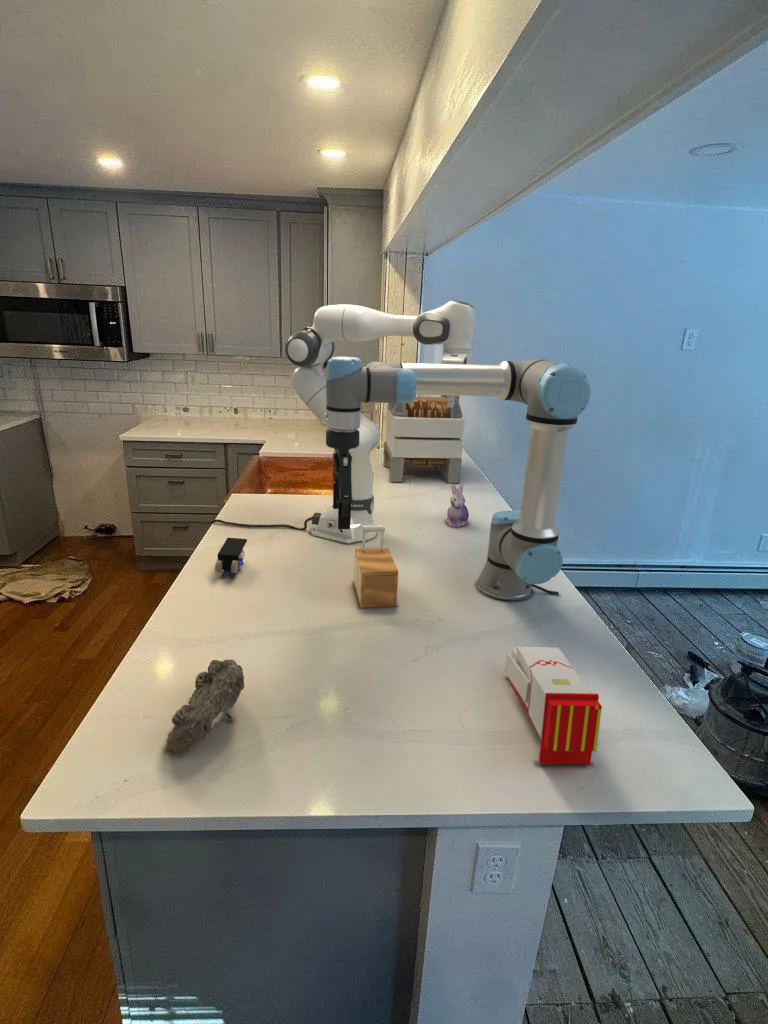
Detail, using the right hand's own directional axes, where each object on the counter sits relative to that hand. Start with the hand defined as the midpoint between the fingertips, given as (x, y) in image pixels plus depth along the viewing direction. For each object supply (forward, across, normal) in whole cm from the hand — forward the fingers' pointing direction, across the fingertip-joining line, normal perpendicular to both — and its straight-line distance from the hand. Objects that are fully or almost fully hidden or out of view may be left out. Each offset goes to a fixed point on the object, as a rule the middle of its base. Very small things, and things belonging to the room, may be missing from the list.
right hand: (341, 518), depth 133 cm
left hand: (-20, -44, +38) cm, 62 cm away
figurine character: (+28, -32, -29) cm, 51 cm away
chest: (+28, -14, +11) cm, 33 cm away
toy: (+28, +39, +37) cm, 60 cm away
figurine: (+28, -66, +50) cm, 87 cm away
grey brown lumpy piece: (+28, +33, -27) cm, 51 cm away
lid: (+19, -14, +11) cm, 26 cm away
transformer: (+28, -133, +51) cm, 146 cm away
